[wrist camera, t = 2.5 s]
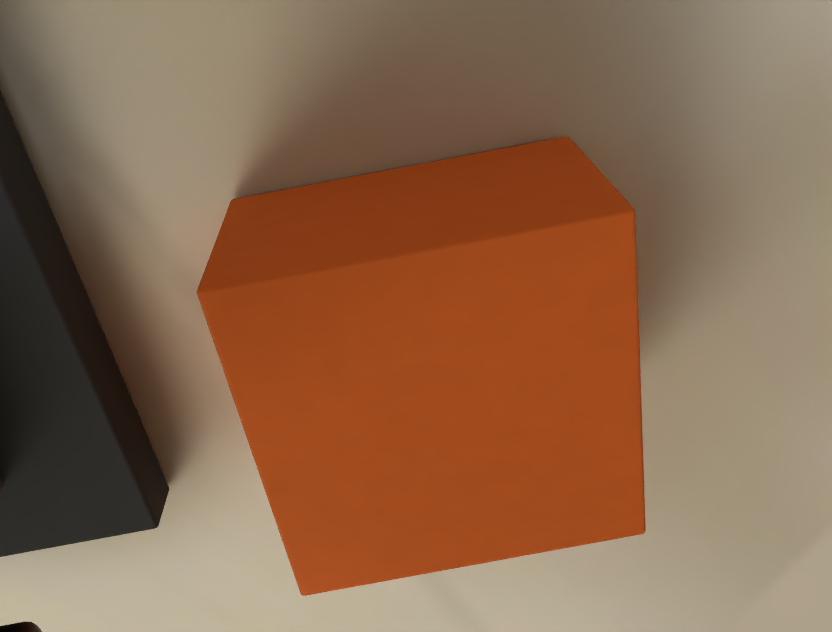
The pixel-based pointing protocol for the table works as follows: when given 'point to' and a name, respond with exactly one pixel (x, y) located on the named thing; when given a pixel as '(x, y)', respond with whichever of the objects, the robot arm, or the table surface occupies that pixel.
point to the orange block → (436, 361)
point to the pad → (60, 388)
